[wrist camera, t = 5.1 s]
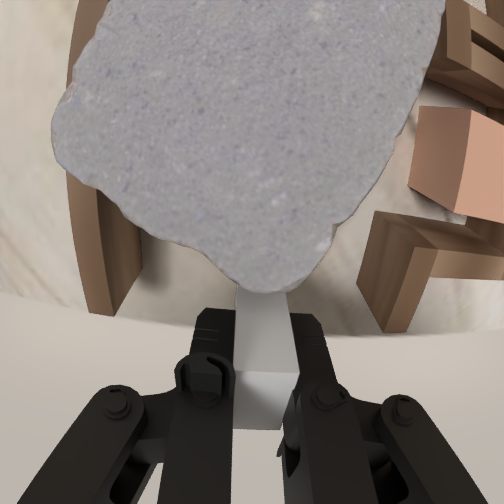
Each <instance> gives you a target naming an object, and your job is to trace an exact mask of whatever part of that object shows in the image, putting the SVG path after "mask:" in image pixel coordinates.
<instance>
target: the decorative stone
mask: <svg viewBox="0 0 504 504" xmlns="http://www.w3.org/2000/svg"><path fill="white" fill-rule="evenodd" d="M444 11H445V0H110V1H109V2H108V4H107V6H106V9H105V11H104V14H103V17H102V18H101V19H100V21H99V22H98V24H97V27H96V30H95V34H94V36H93V37H92V38H91V40H90V41H89V42H88V43H87V44H86V45H85V47H84V49H83V51H82V52H81V54H80V56H79V58H78V59H77V61H76V62H75V64H74V66H73V71H72V82H71V84H70V85H69V87H68V88H67V90H66V91H65V93H64V94H63V96H62V97H61V99H60V101H59V103H58V105H57V108H56V110H55V113H54V115H53V118H52V121H51V142H52V147H53V152H54V155H55V158H56V161H57V162H58V163H59V164H60V165H61V166H62V167H63V168H64V169H65V170H66V171H67V172H68V173H69V174H70V175H72V176H74V177H76V178H78V179H79V180H80V181H81V182H82V183H83V184H85V185H88V186H90V187H93V188H96V189H98V190H101V191H102V192H103V193H104V194H105V195H106V196H107V197H108V198H109V199H110V200H111V201H113V202H114V203H115V204H116V205H117V206H118V207H119V208H120V210H121V212H122V214H123V215H124V217H125V218H127V219H128V220H129V221H131V222H132V223H133V224H135V225H136V226H138V227H141V228H143V229H144V230H145V231H146V232H147V233H149V234H150V235H152V236H154V237H156V238H158V239H161V240H166V241H170V242H173V243H176V244H179V245H181V246H185V247H190V248H193V249H194V250H196V251H198V252H200V253H202V254H204V255H205V256H206V257H207V258H208V259H209V260H210V261H211V262H212V263H213V264H214V265H215V266H216V267H217V268H218V269H219V270H220V271H221V272H222V273H223V274H225V275H226V276H227V277H228V278H229V279H231V280H232V281H233V282H235V283H236V284H238V285H240V286H241V287H243V288H245V289H247V290H249V291H251V292H254V293H261V294H281V293H287V292H290V291H292V290H294V289H296V288H298V287H299V286H300V285H301V284H302V283H303V281H304V280H305V279H306V278H307V277H308V276H309V275H310V274H311V273H312V272H313V271H314V269H315V268H316V267H317V266H318V264H319V263H320V262H321V260H322V259H323V257H324V256H325V254H326V253H327V251H328V250H329V248H330V247H331V244H332V241H333V238H334V235H335V232H336V229H337V227H338V226H339V225H341V224H342V223H343V222H345V221H346V220H347V219H349V218H350V217H351V216H353V214H354V213H355V211H356V210H357V208H358V207H359V205H360V204H361V202H362V201H363V200H364V198H365V197H366V196H367V194H368V193H369V192H370V190H371V189H372V188H373V186H374V185H375V184H376V182H377V181H378V179H379V177H380V176H381V174H382V172H383V170H384V168H385V167H386V165H387V163H388V161H389V159H390V157H391V156H392V154H393V152H394V138H395V137H397V136H398V135H400V134H401V133H402V130H403V128H404V126H405V124H406V121H407V119H408V117H409V114H410V112H411V110H412V107H413V105H414V103H415V101H416V99H417V97H418V95H419V93H420V90H421V87H422V83H423V80H424V77H425V73H426V71H427V68H428V66H429V64H430V61H431V58H432V56H433V53H434V50H435V47H436V44H437V40H438V37H439V33H440V26H441V16H442V14H443V12H444Z"/></svg>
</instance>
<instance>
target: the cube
mask: <svg viewBox="0 0 504 504" xmlns="http://www.w3.org/2000/svg"><path fill="white" fill-rule="evenodd" d="M408 186H409V187H411V188H413V189H414V190H416V191H418V192H420V193H421V194H423V195H425V196H427V197H428V198H430V199H432V200H433V201H435V202H437V203H438V204H440V205H442V206H443V207H445V208H447V209H448V210H450V211H451V212H453V213H457V214H462V215H467V216H472V217H477V218H481V219H486V220H491V221H495V222H499V223H504V126H503V125H501V124H499V123H497V122H496V121H494V120H492V119H490V118H488V117H486V116H484V115H482V114H480V113H478V112H475V111H473V110H470V109H460V108H448V107H433V106H419V116H418V124H417V132H416V139H415V146H414V152H413V159H412V164H411V170H410V175H409V181H408Z"/></svg>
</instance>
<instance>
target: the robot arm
mask: <svg viewBox="0 0 504 504" xmlns="http://www.w3.org/2000/svg"><path fill="white" fill-rule="evenodd" d="M174 373H175V380H176V387H175V388H174V389H172V390H170V391H168V392H166V393H161V394H154V395H145V396H140V395H139V394H138V392H137V391H135V390H134V389H132V388H131V387H128V386H123V385H110V386H108V387H105V388H102V389H100V390H99V391H98V392H97V393H96V394H95V395H94V396H93V397H92V399H91V400H90V401H89V403H88V404H87V405H86V407H85V408H84V409H83V411H82V412H81V413H80V415H79V416H78V417H77V419H76V420H75V421H74V423H73V424H72V425H71V427H70V428H69V430H68V431H67V433H66V434H65V435H64V436H63V438H62V439H61V441H60V442H59V443H58V445H57V446H56V447H55V449H54V450H53V452H52V453H51V455H50V456H49V457H48V459H47V460H46V461H45V463H44V464H43V466H42V467H41V469H40V470H39V471H38V473H37V474H36V476H35V477H34V479H33V480H32V482H31V483H30V485H29V486H28V488H27V489H26V491H25V492H24V494H23V495H22V496H21V498H20V500H19V501H18V502H17V504H137V502H138V501H139V499H140V497H141V495H142V493H143V491H144V489H145V487H146V485H147V483H148V481H149V479H150V477H151V475H152V473H153V471H154V469H155V467H156V465H157V463H164V464H163V470H162V476H161V482H160V488H159V495H158V501H157V504H231V467H232V436H233V428H234V429H256V430H280V428H281V426H282V423H283V429H284V436H283V439H282V441H281V444H280V446H279V448H278V451H277V457H280V456H281V455H282V467H283V468H282V469H283V483H284V496H285V504H488V503H487V501H486V499H485V498H484V496H483V495H482V493H481V492H480V490H479V488H478V487H477V485H476V484H475V482H474V481H473V479H472V478H471V476H470V475H469V473H468V472H467V470H466V469H465V467H464V466H463V464H462V463H461V461H460V460H459V458H458V457H457V456H456V454H455V452H454V451H453V450H452V448H451V447H450V445H449V444H448V442H447V441H446V439H445V438H444V437H443V435H442V434H441V433H440V431H439V429H438V428H437V427H436V425H435V424H434V422H433V421H432V420H431V418H430V417H429V416H428V414H427V413H426V411H425V410H424V409H423V407H422V406H421V405H420V404H419V403H418V402H417V401H416V400H415V399H413V398H411V397H409V396H406V395H400V394H398V395H393V396H390V397H389V398H387V399H386V400H385V401H384V402H383V404H377V403H371V402H366V401H362V400H358V399H355V398H353V397H351V396H350V394H349V393H348V391H347V390H346V389H345V388H344V387H343V386H342V385H341V384H339V383H338V382H337V379H336V376H335V372H334V369H333V365H332V361H331V358H330V354H329V351H328V347H327V346H326V340H325V337H324V334H323V330H322V327H321V324H320V323H319V322H318V320H317V319H316V318H315V317H314V316H313V315H312V314H301V313H289V309H288V304H287V298H286V293H281V294H261V293H254V292H251V291H249V290H247V289H245V288H243V287H241V286H240V285H238V284H237V289H236V300H235V310H227V309H216V308H205V309H204V310H203V311H202V312H201V313H200V314H199V315H198V316H197V320H196V325H195V330H194V334H193V340H192V343H191V348H190V352H189V355H187V356H185V357H184V358H183V359H181V360H180V361H179V362H178V363H177V365H176V368H175V369H174Z"/></svg>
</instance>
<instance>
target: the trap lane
mask: <svg viewBox="0 0 504 504" xmlns="http://www.w3.org/2000/svg"><path fill="white" fill-rule="evenodd" d="M109 1H110V0H79V3H78V8H77V12H76V17H75V23H74V28H73V34H72V40H71V47H70V55H69V63H68V73H67V85H66V90H67V88H68V87H69V85H70V84H71V82H72V71H73V66H74V64H75V62H76V61H77V59H78V58H79V56H80V54H81V52H82V51H83V49H84V47H85V45H86V44H87V43H88V42H89V41H90V40H91V38H92V37H93V36H94V34H95V30H96V27H97V24H98V22H99V21H100V19H101V18H102V17H103V14H104V11H105V9H106V6H107V4H108V2H109ZM485 1H486V8H487V15H485V14H484V13H482V12H481V11H479V10H477V9H476V8H474V7H473V6H471V5H470V4H468V3H466V2H465V1H463V0H445V11H444V12H443V14H442V16H441V26H440V33H439V37H438V40H437V44H436V47H435V50H434V53H433V56H432V58H431V61H430V64H429V66H428V68H427V71H426V73H425V78H428V79H430V80H433V81H435V82H437V83H440V84H442V85H444V86H447V87H449V88H451V89H453V90H456V91H458V92H460V93H462V94H464V95H466V96H468V97H470V98H472V99H474V100H476V101H478V102H480V103H482V104H484V105H486V106H487V107H488V112H487V117H488V118H490V119H492V120H494V121H496V122H497V123H499V124H501V125H503V126H504V0H485ZM66 177H67V190H68V200H69V210H70V218H71V225H72V232H73V239H74V245H75V251H76V256H77V262H78V267H79V272H80V277H81V281H82V286H83V290H84V294H85V299H86V303H87V307H88V310H89V313H94V314H100V315H106V316H112V317H114V316H115V314H116V313H117V311H118V309H119V307H120V306H121V304H122V302H123V300H124V299H125V297H126V295H127V293H128V292H129V290H130V288H131V286H132V285H133V283H134V281H135V280H136V278H137V276H138V275H139V273H140V271H141V270H142V258H141V246H140V232H139V227H138V226H136V225H135V224H133V223H132V222H131V221H129V220H128V219H127V218H125V217H124V215H123V214H122V212H121V210H120V208H119V207H118V206H117V205H116V204H115V203H114V202H113V201H111V200H110V199H109V198H108V197H107V196H106V195H105V194H104V193H103V192H102V191H101V190H98V189H96V188H93V187H90V186H88V185H85V184H83V183H82V182H81V181H80V180H79V179H78V178H76V177H74V176H72V175H70V174H69V173H68V172H67V171H66ZM429 277H436V278H458V279H481V280H504V223H499V222H495V221H491V220H486V219H481V218H477V217H472V216H468V218H467V221H466V225H465V226H464V225H459V224H454V223H448V222H443V221H437V220H431V219H425V218H419V217H413V216H407V215H401V214H394V213H387V212H380V211H375V213H374V217H373V222H372V226H371V230H370V234H369V238H368V242H367V246H366V250H365V254H364V258H363V261H362V265H361V269H360V272H359V276H358V279H357V283H356V284H357V286H358V287H359V289H360V291H361V293H362V295H363V296H364V298H365V300H366V302H367V304H368V306H369V308H370V309H371V311H372V313H373V315H374V317H375V319H376V321H377V323H378V325H379V326H380V328H381V330H382V332H383V333H403V332H406V331H407V329H408V326H409V324H410V322H411V320H412V318H413V315H414V313H415V311H416V308H417V306H418V304H419V301H420V299H421V296H422V294H423V292H424V289H425V286H426V284H427V281H428V279H429Z"/></svg>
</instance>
